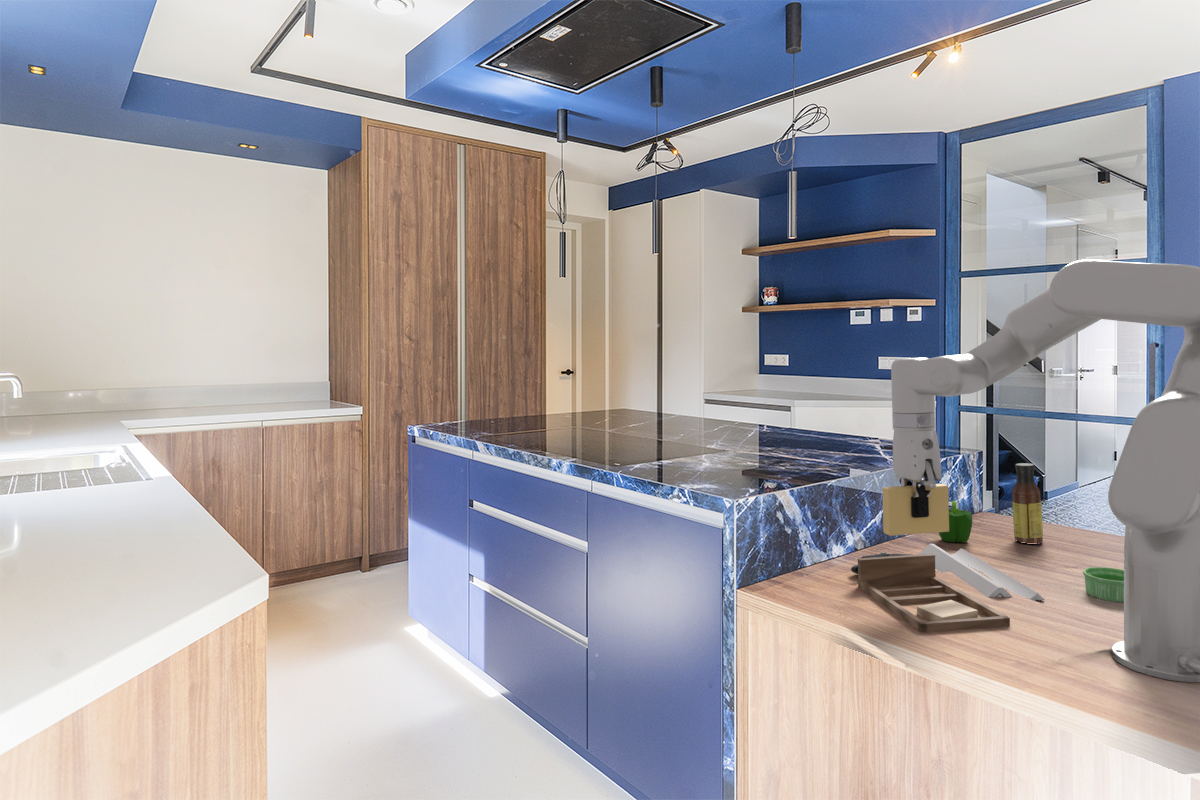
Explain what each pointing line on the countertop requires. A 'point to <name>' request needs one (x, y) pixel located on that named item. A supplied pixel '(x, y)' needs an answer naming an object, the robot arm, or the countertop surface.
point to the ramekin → (1105, 583)
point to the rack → (920, 591)
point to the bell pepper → (958, 525)
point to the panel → (899, 511)
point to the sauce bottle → (1027, 506)
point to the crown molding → (989, 588)
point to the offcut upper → (946, 611)
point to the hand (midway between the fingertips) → (915, 514)
